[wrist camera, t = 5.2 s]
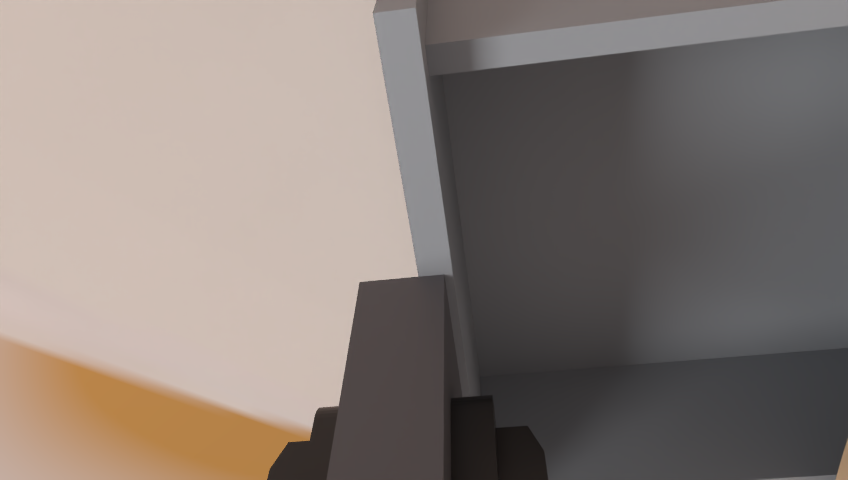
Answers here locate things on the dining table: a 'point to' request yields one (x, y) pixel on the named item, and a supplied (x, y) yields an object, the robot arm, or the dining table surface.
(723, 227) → the tray
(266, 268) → the dining table surface
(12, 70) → the dining table surface
